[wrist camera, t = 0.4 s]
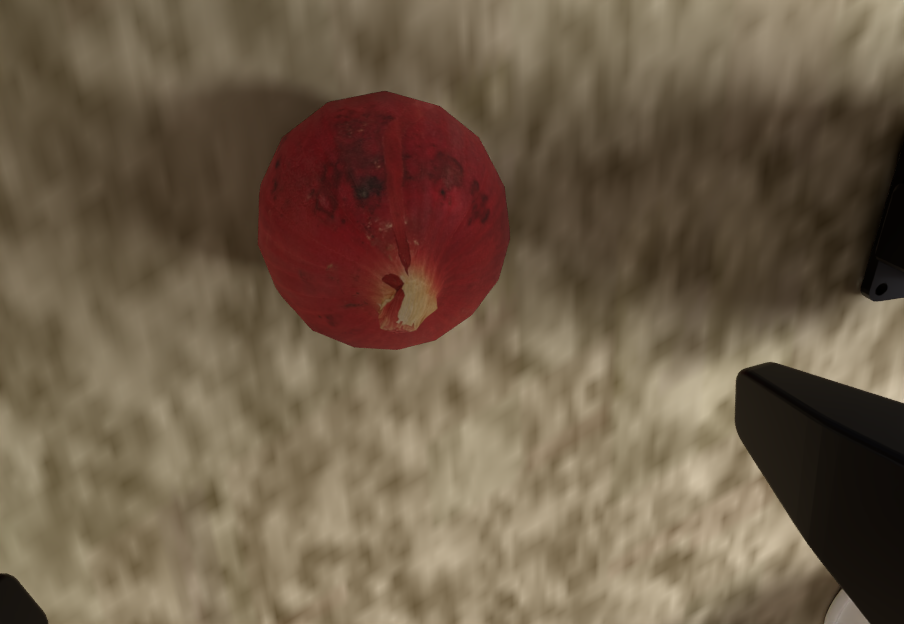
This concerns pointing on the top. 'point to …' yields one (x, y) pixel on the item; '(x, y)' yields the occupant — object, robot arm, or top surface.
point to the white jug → (844, 611)
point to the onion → (382, 221)
